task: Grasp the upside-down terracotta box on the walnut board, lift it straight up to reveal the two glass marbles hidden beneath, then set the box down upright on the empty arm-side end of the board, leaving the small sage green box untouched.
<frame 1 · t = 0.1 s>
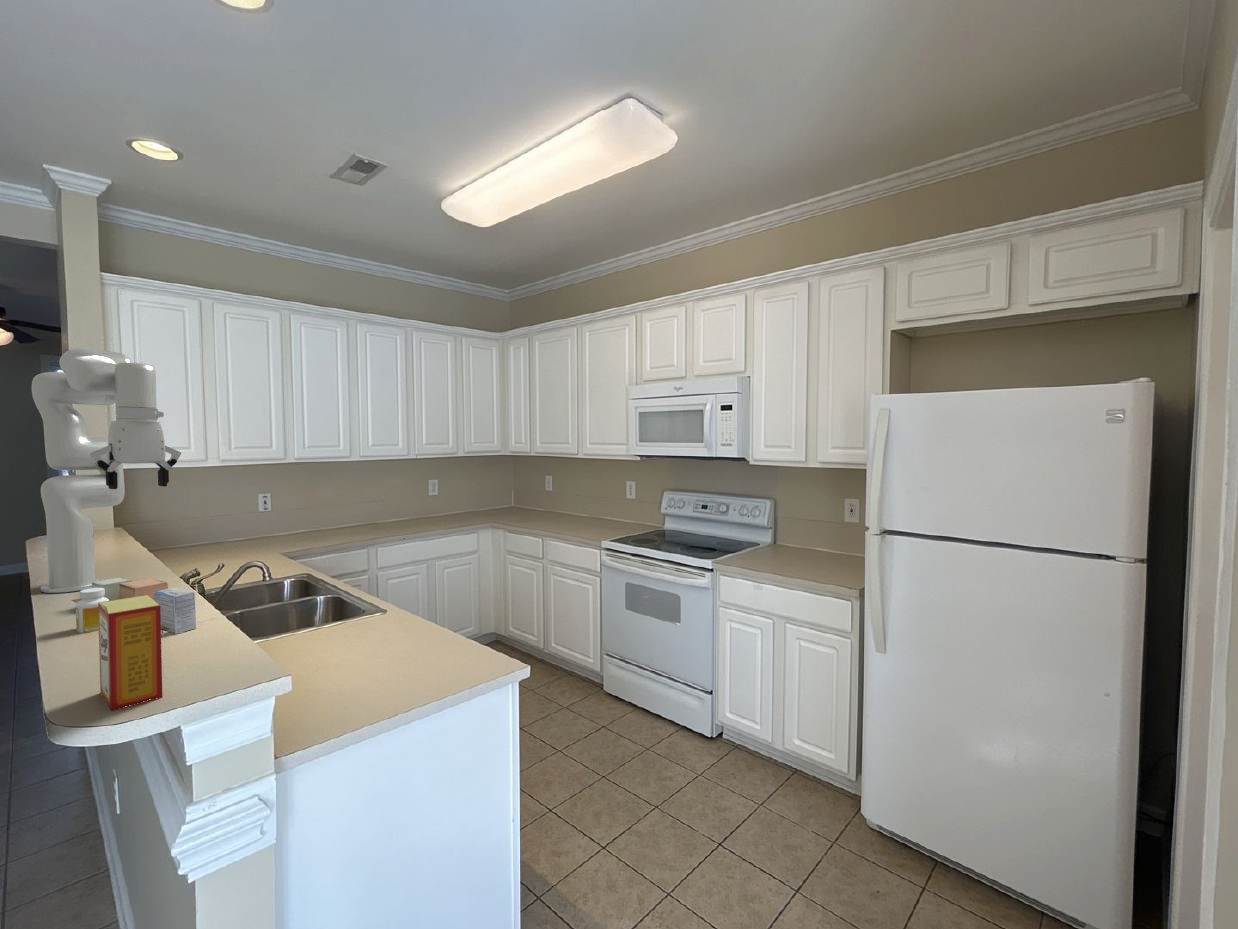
hand: (138, 487, 138), 31 cm above the table, fingers open, 9 cm apart
medicine box: (175, 630, 130), on the table
terracotta box: (144, 607, 142), point 1 cm above the table, touching walnut board
walnut board: (122, 607, 145), on the table
supplement bottle: (93, 634, 127), on the table
marble a: (141, 606, 143), point 1 cm above the table, touching walnut board
sage green box: (112, 605, 143), point 1 cm above the table, touching walnut board
marble b: (147, 608, 141), point 1 cm above the table, touching walnut board
baking soda box: (131, 696, 98), on the table
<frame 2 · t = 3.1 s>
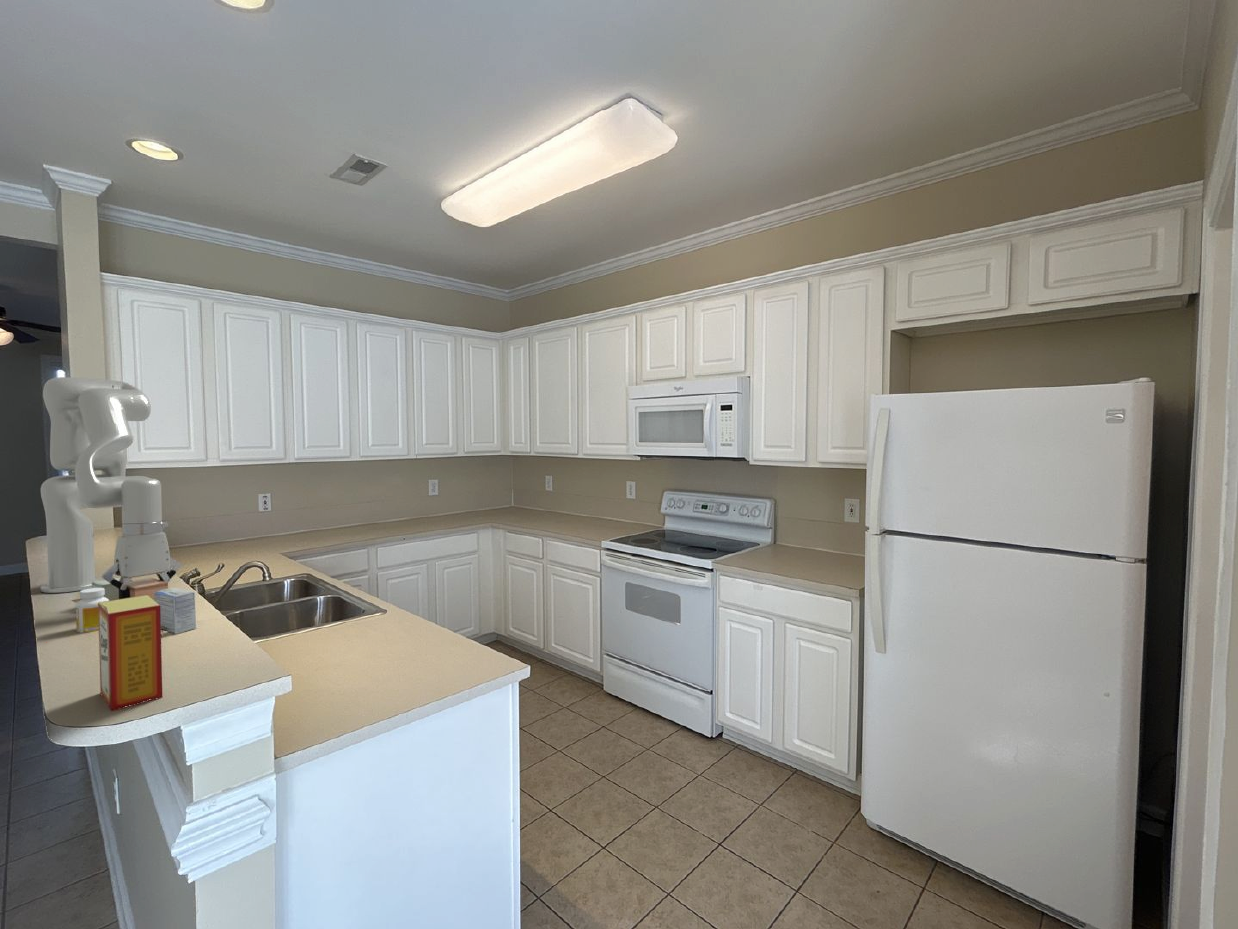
hand: (144, 600, 142), 3 cm above the table, fingers closed on terracotta box, 6 cm apart
terracotta box: (144, 607, 142), point 1 cm above the table, touching gripper, walnut board
everything else where it was.
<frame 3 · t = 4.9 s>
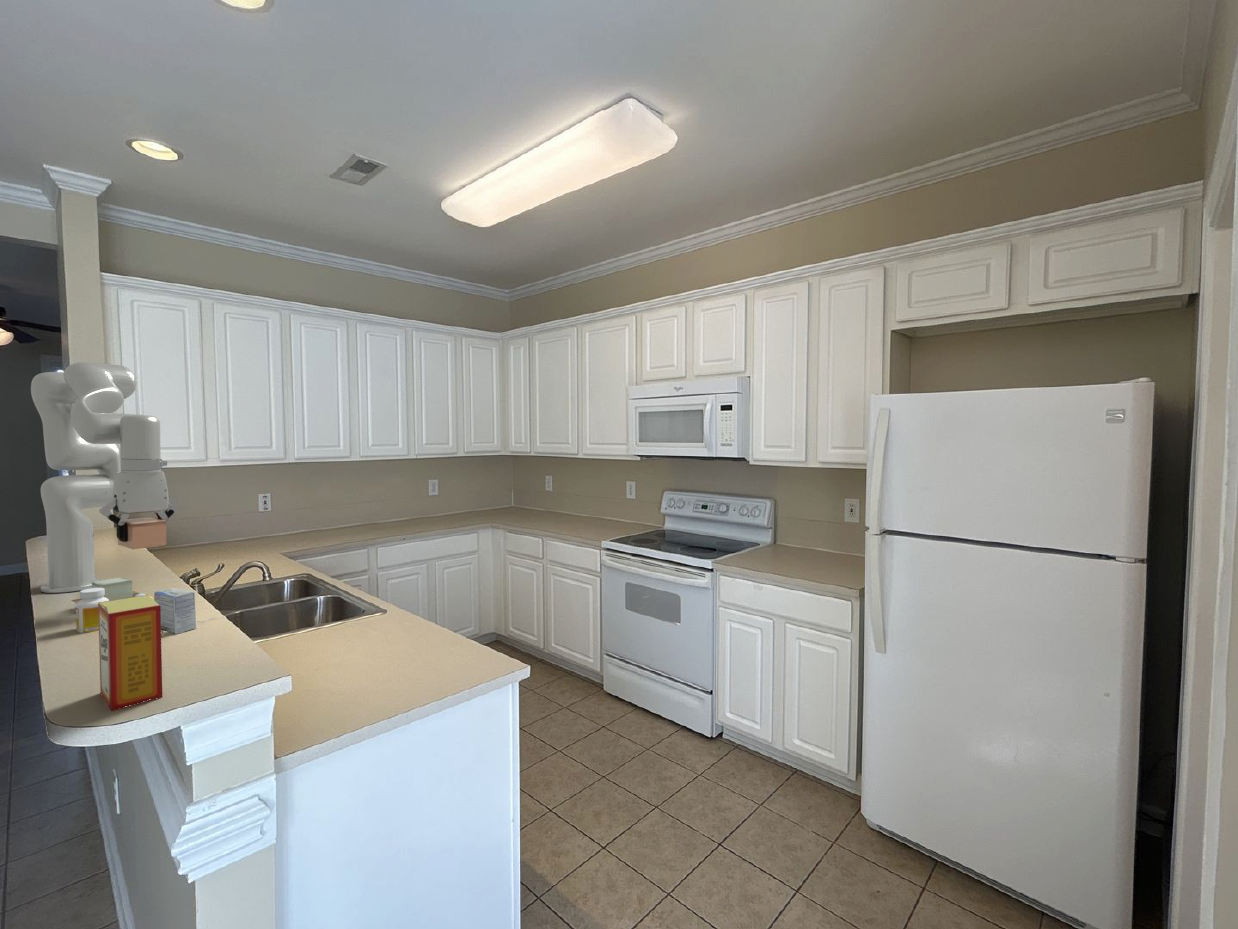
hand: (142, 538, 141), 18 cm above the table, fingers closed on terracotta box, 6 cm apart
terracotta box: (142, 544, 141), point 17 cm above the table, touching gripper
marble a: (141, 605, 143), point 1 cm above the table, tilted 15°, touching walnut board
marble b: (147, 608, 141), point 1 cm above the table, tilted 10°, touching walnut board
everything else where it was.
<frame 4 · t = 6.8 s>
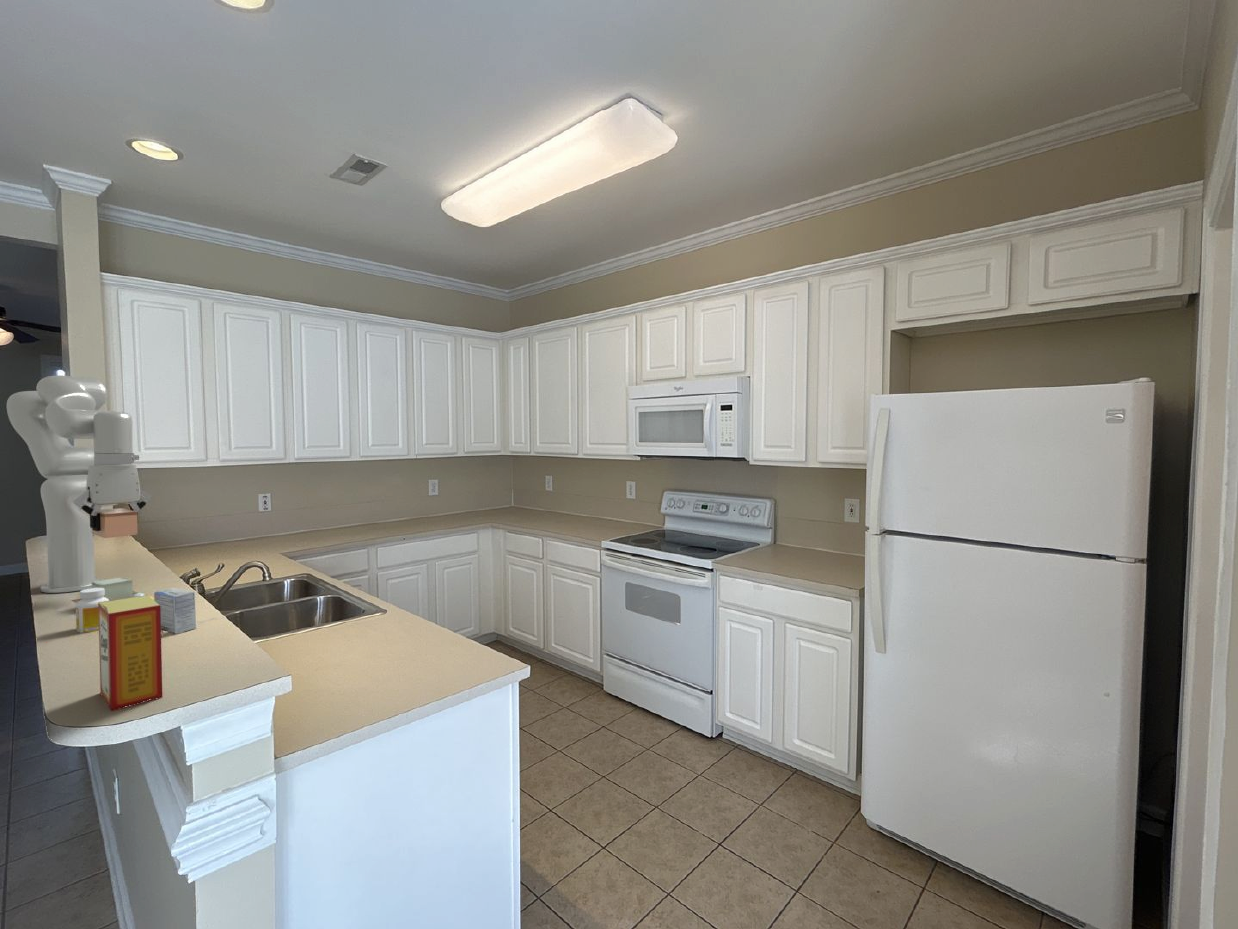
hand: (114, 528, 150), 19 cm above the table, fingers closed on terracotta box, 6 cm apart
terracotta box: (114, 534, 150), point 18 cm above the table, touching gripper
marble a: (140, 603, 143), point 2 cm above the table, tilted 50°, touching walnut board
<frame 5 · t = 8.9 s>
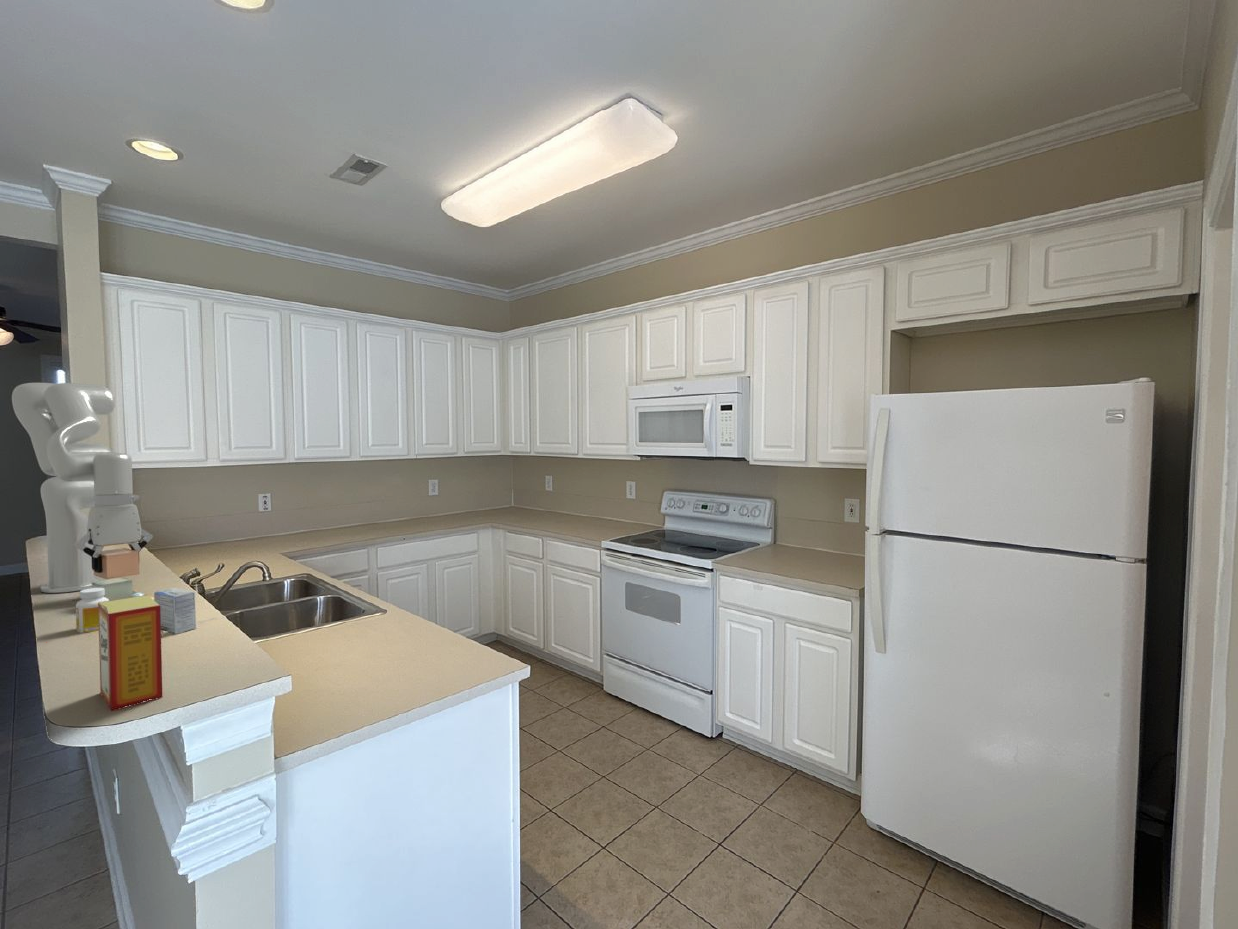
hand: (116, 568, 150), 9 cm above the table, fingers closed on terracotta box, 6 cm apart
terracotta box: (116, 574, 150), point 7 cm above the table, touching gripper
marble a: (140, 600, 143), point 2 cm above the table, tilted 80°, touching walnut board
marble b: (147, 607, 141), point 1 cm above the table, tilted 34°, touching walnut board
everything else where it was.
when the fingers open (4 cm above the table, at t = 10.8 s): terracotta box drops 1 cm, resting on walnut board.
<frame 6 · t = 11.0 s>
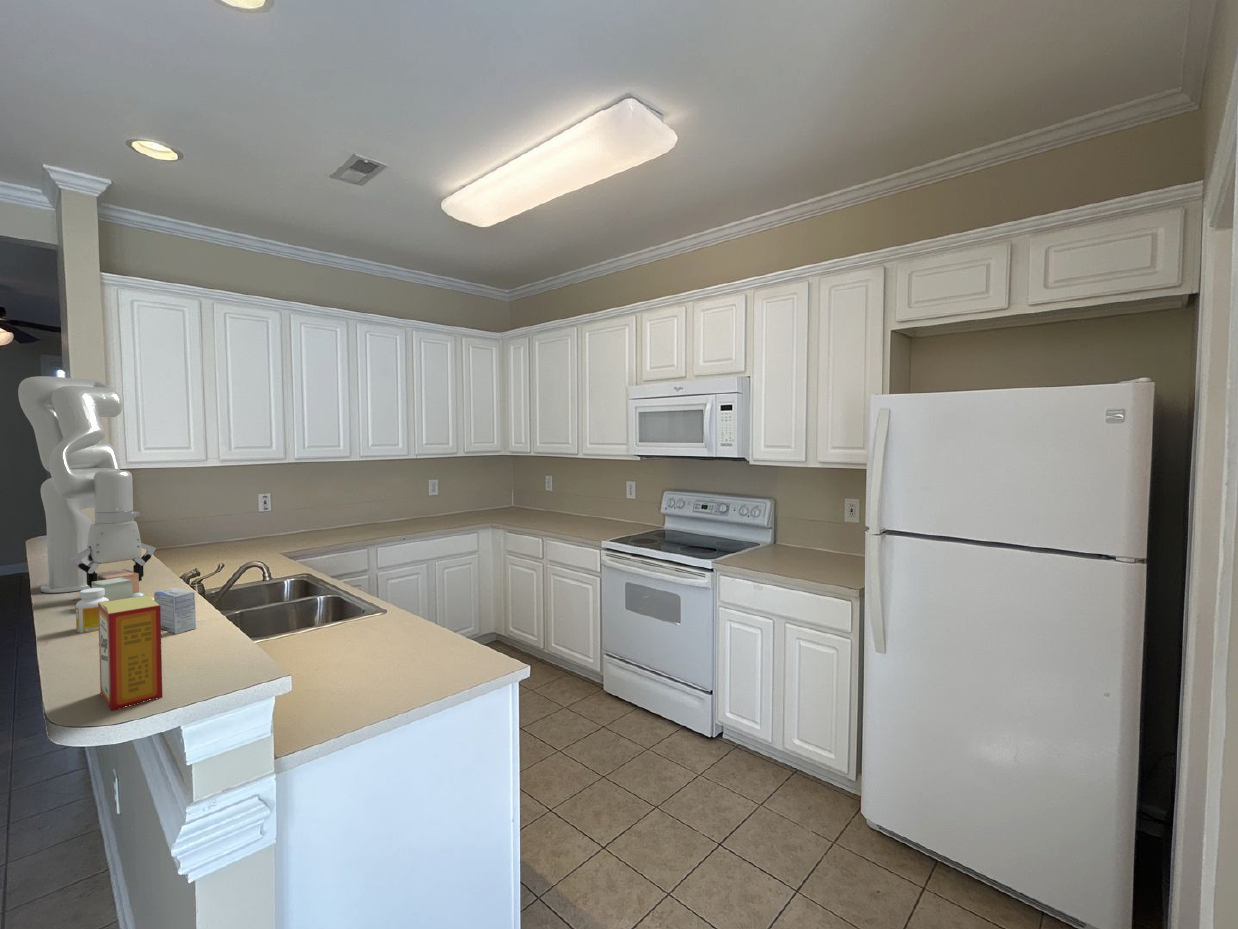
hand: (116, 583, 151), 5 cm above the table, fingers open, 8 cm apart
terracotta box: (116, 596, 151), point 1 cm above the table, touching walnut board
marble b: (147, 605, 141), point 2 cm above the table, tilted 56°, touching walnut board
everything else where it was.
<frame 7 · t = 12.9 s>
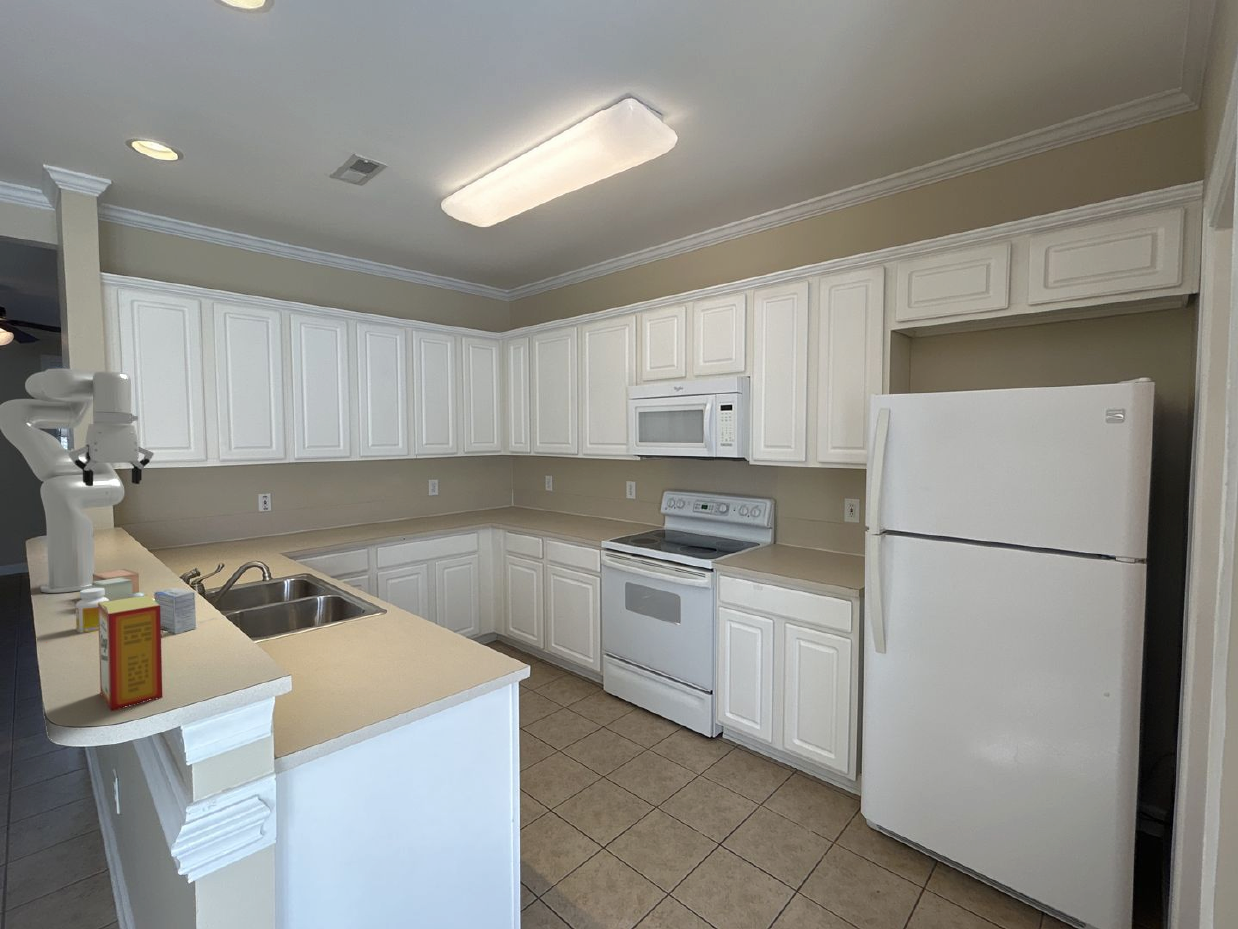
hand: (113, 484, 152), 30 cm above the table, fingers open, 9 cm apart
marble b: (148, 604, 141), point 2 cm above the table, tilted 77°, touching walnut board
everything else where it was.
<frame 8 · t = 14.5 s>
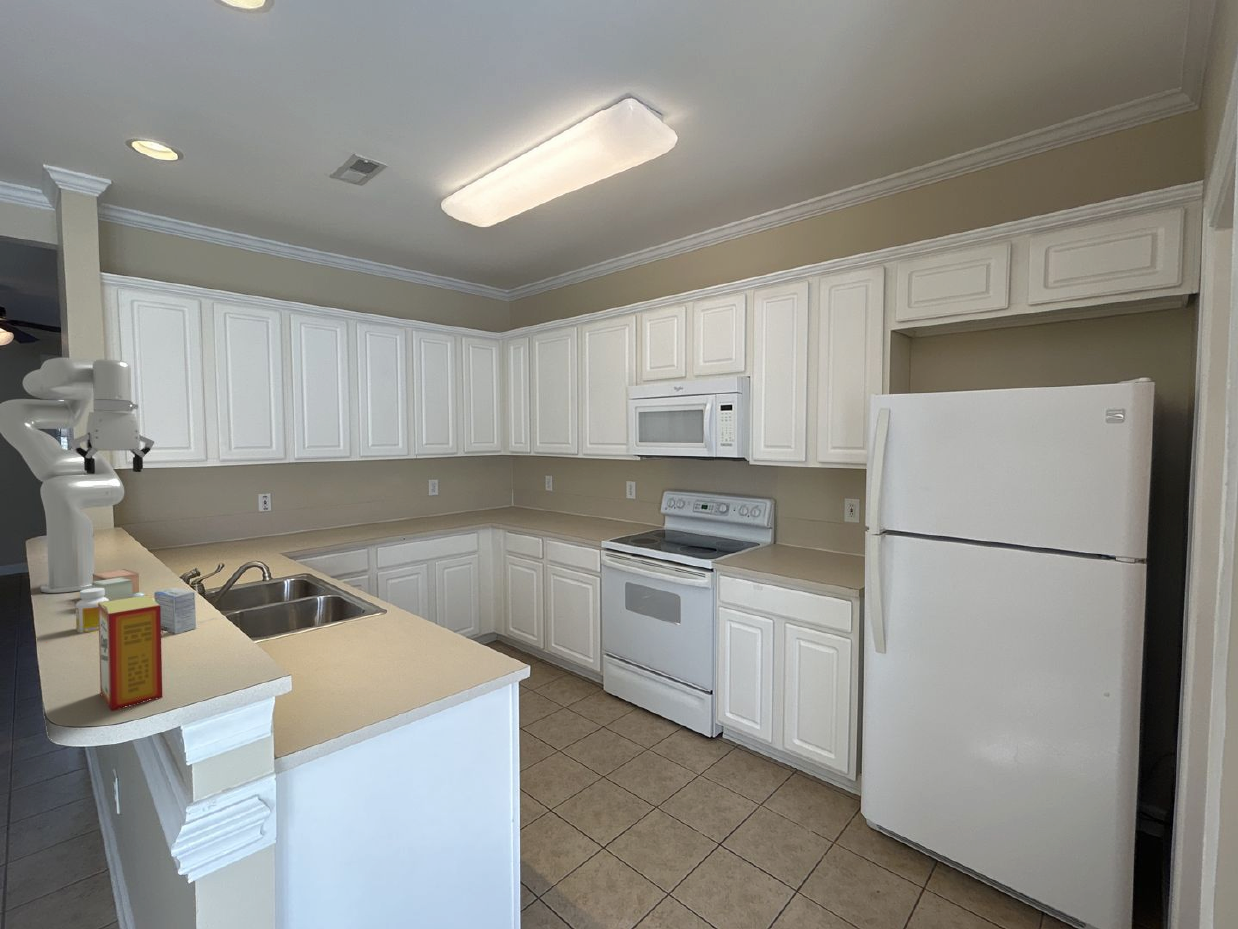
hand: (114, 472, 152), 33 cm above the table, fingers open, 9 cm apart
marble b: (148, 602, 141), point 3 cm above the table, tilted 95°, touching walnut board
everything else where it was.
at the end: terracotta box inside the target area (0.1 cm from its centre), point 1.2 cm above the table; terracotta box tilted 0°; the gripper is holding nothing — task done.
